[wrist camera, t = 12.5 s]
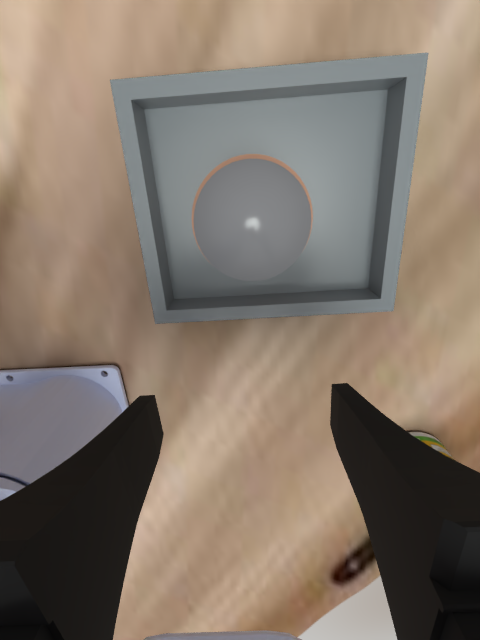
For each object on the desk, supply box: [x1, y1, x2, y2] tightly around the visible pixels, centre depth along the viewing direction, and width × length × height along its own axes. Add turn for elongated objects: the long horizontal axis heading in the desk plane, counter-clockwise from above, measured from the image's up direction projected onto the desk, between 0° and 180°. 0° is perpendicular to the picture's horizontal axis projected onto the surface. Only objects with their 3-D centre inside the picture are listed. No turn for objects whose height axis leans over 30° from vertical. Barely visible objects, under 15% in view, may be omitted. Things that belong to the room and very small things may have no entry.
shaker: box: [192, 154, 313, 281], centre depth 14 cm, size 4×4×8 cm
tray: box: [110, 53, 428, 324], centre depth 17 cm, size 14×12×2 cm
